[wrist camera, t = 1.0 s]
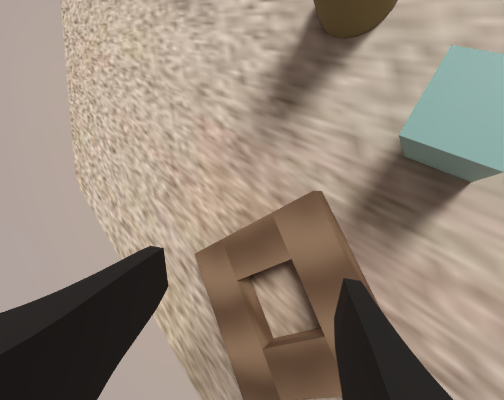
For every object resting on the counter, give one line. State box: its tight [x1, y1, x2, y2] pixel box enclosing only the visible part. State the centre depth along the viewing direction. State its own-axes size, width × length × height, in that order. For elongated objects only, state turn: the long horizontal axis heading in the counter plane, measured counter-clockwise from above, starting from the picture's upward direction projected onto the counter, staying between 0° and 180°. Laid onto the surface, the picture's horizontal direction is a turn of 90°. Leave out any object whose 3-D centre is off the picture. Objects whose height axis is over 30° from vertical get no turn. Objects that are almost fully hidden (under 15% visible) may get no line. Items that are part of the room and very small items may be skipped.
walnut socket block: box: [195, 191, 380, 400], centre depth 22 cm, size 14×14×2 cm
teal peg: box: [399, 45, 504, 182], centre depth 13 cm, size 4×4×7 cm
